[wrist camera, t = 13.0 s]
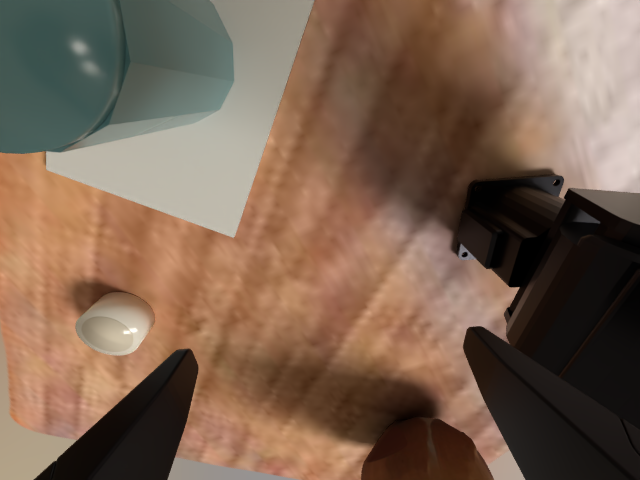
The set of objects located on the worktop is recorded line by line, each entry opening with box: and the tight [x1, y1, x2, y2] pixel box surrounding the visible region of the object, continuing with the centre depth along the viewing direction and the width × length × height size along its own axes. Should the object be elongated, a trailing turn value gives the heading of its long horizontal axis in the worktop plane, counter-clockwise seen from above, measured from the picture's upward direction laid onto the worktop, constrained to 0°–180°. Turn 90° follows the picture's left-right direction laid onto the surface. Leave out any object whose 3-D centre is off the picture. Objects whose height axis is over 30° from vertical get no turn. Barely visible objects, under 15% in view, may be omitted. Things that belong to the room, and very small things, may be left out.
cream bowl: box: [76, 292, 155, 355], centre depth 24 cm, size 5×5×3 cm
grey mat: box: [46, 0, 315, 238], centre depth 16 cm, size 20×13×1 cm, turn 156°
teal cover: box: [0, 0, 234, 154], centre depth 11 cm, size 7×7×11 cm
